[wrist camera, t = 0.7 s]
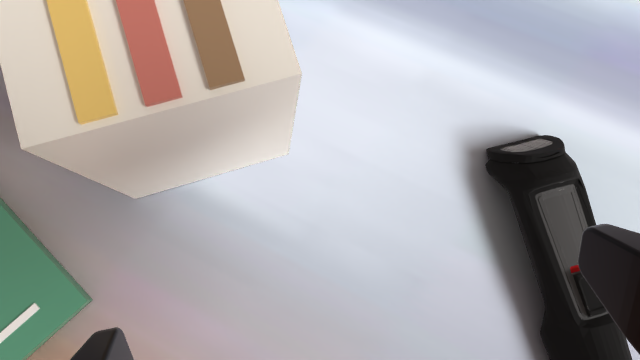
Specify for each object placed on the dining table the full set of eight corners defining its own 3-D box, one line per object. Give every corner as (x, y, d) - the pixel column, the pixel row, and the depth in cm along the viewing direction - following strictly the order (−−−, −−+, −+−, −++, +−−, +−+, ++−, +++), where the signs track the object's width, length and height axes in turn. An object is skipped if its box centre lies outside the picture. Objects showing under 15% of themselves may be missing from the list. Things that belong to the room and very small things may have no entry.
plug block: (288, 154, 22) (301, 71, 13) (135, 198, 22) (17, 147, 12) (261, 66, 23) (252, -82, 13) (110, 105, 22) (-24, -21, 12)
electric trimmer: (572, 484, 22) (623, 522, 19) (474, 151, 24) (506, 136, 21) (646, 458, 22) (707, 491, 19) (544, 135, 24) (586, 117, 21)
